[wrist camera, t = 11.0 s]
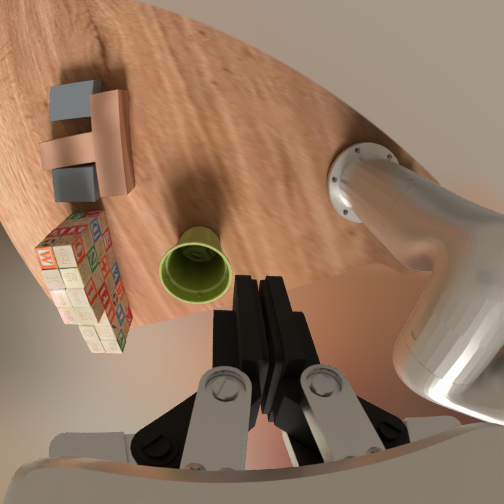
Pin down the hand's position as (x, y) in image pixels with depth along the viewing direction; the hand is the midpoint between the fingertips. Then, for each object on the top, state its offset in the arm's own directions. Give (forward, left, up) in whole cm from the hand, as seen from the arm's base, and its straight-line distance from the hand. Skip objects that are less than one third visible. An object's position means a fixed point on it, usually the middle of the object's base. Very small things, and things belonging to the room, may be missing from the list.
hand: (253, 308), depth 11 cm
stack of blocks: (+21, +20, -32) cm, 43 cm away
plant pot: (+4, +14, -32) cm, 35 cm away
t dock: (+22, -2, -32) cm, 39 cm away
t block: (+21, -1, -32) cm, 38 cm away
